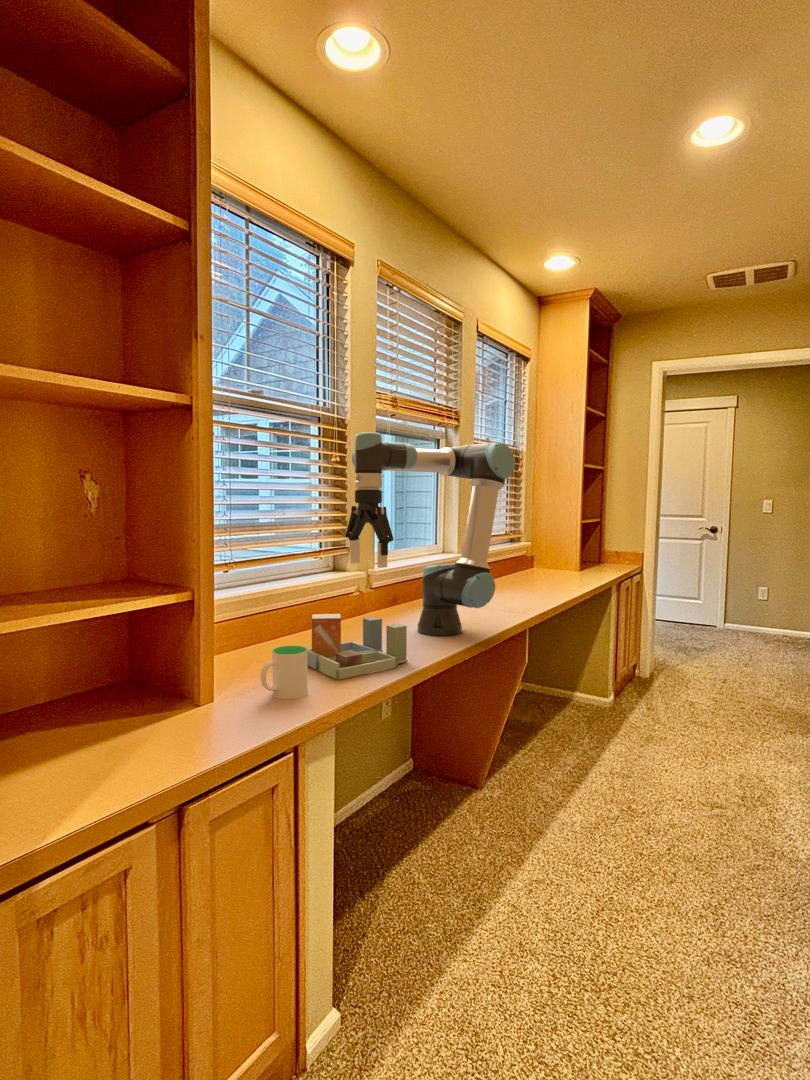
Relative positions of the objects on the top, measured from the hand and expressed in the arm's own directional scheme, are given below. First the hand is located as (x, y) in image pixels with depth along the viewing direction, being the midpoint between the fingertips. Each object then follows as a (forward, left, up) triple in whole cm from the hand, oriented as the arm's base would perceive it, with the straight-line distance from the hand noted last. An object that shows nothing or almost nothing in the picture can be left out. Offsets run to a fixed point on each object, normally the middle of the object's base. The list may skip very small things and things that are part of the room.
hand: (368, 565), depth 167 cm
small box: (+11, -5, -27) cm, 30 cm away
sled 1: (+5, -5, -27) cm, 28 cm away
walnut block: (+11, +7, -27) cm, 30 cm away
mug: (+33, +14, -27) cm, 45 cm away
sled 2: (+5, +7, -27) cm, 28 cm away
